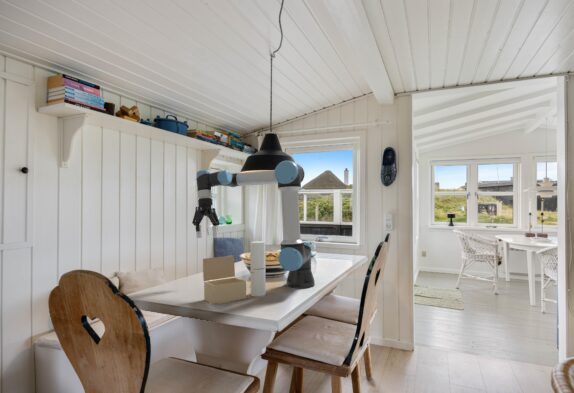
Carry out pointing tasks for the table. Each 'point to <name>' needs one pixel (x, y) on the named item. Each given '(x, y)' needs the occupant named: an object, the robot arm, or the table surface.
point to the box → (224, 290)
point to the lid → (218, 268)
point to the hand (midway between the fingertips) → (207, 237)
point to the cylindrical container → (257, 268)
